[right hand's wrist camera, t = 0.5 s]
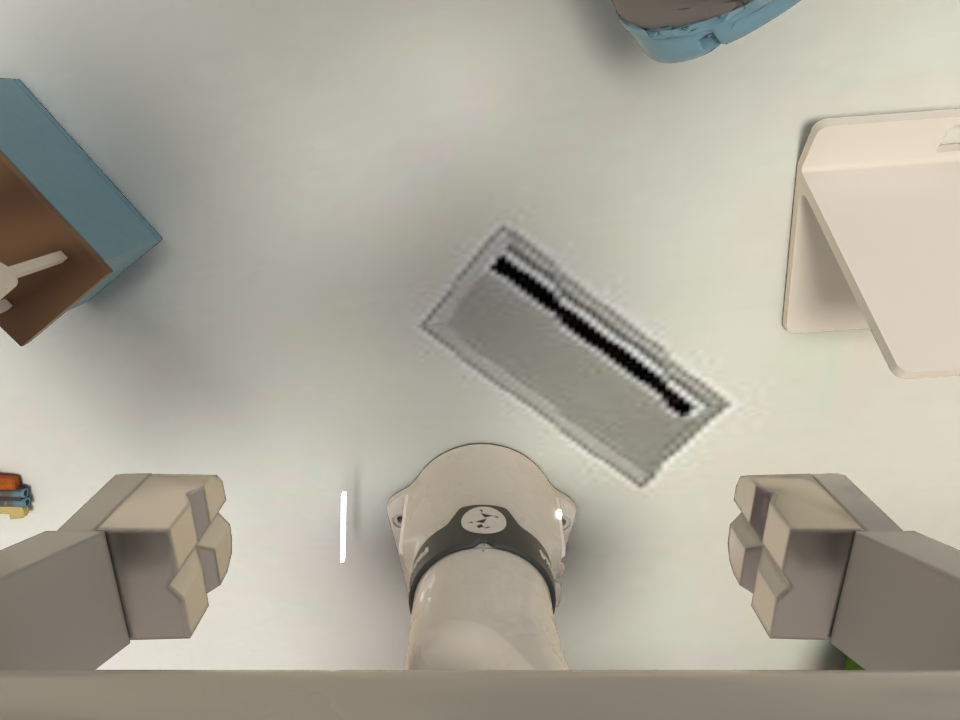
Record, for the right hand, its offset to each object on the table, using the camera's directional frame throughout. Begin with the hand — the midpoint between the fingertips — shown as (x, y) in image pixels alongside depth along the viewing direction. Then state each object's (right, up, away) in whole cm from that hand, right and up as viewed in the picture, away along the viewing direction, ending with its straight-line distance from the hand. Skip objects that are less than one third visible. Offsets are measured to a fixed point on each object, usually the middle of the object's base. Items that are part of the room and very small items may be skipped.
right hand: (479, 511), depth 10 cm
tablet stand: (+39, +14, +45) cm, 61 cm away
